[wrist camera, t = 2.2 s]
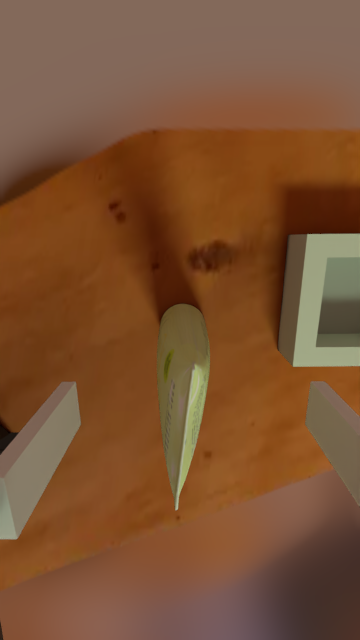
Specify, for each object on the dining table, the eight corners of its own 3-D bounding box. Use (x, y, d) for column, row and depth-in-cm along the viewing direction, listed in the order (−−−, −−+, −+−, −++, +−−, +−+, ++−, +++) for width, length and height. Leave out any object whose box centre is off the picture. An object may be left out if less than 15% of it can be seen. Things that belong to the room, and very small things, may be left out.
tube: (147, 315, 31) (99, 430, 12) (185, 288, 30) (194, 368, 12) (177, 354, 32) (175, 512, 14) (214, 329, 32) (265, 461, 13)
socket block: (277, 349, 32) (292, 366, 28) (288, 234, 29) (307, 234, 25) (387, 348, 32) (419, 365, 28) (410, 234, 29) (451, 233, 25)
